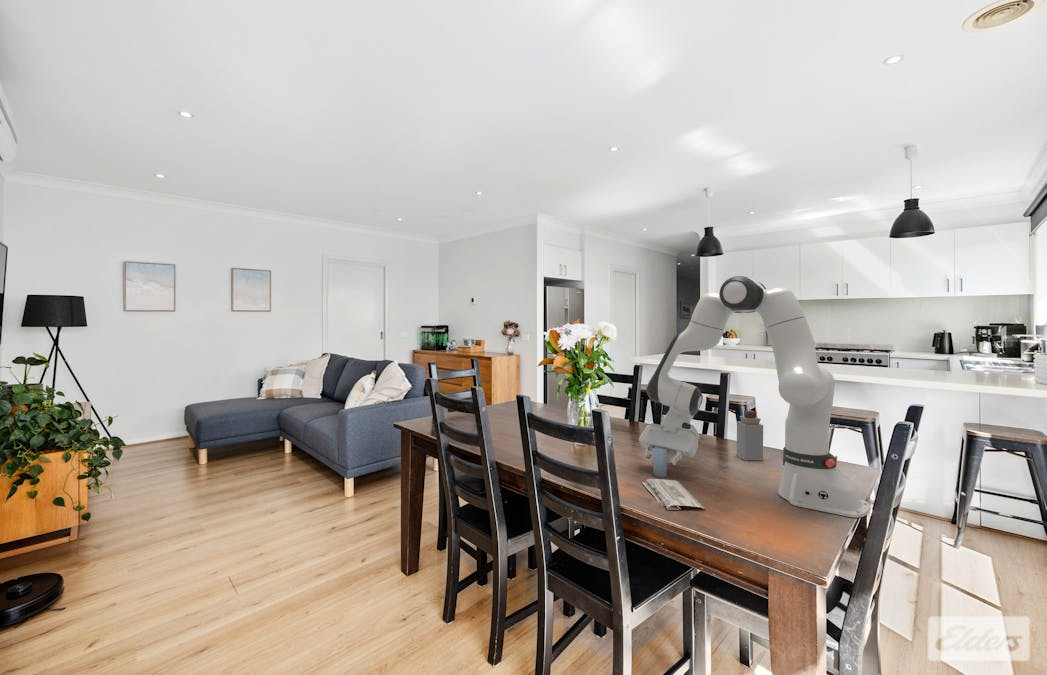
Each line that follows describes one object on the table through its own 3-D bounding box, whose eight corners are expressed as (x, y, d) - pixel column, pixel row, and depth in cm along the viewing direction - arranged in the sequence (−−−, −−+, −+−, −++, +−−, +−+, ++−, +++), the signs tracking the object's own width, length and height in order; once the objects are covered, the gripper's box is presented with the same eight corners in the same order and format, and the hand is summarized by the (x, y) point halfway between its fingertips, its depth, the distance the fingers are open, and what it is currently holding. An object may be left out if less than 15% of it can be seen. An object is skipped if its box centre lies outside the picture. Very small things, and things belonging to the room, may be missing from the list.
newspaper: (640, 484, 150) (641, 477, 150) (678, 488, 150) (678, 480, 150) (661, 513, 127) (662, 504, 127) (705, 517, 127) (706, 508, 127)
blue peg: (669, 475, 157) (669, 449, 156) (662, 478, 154) (662, 451, 153) (657, 472, 160) (657, 446, 159) (650, 475, 157) (650, 449, 157)
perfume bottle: (762, 460, 172) (763, 413, 171) (744, 460, 172) (745, 413, 171) (754, 455, 179) (754, 409, 178) (736, 455, 179) (737, 409, 178)
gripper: (645, 417, 169) (629, 449, 162) (698, 427, 153) (683, 462, 147) (651, 427, 172) (636, 458, 166) (704, 438, 157) (690, 472, 150)
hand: (659, 460), depth 156 cm, fingers open, 8 cm apart
